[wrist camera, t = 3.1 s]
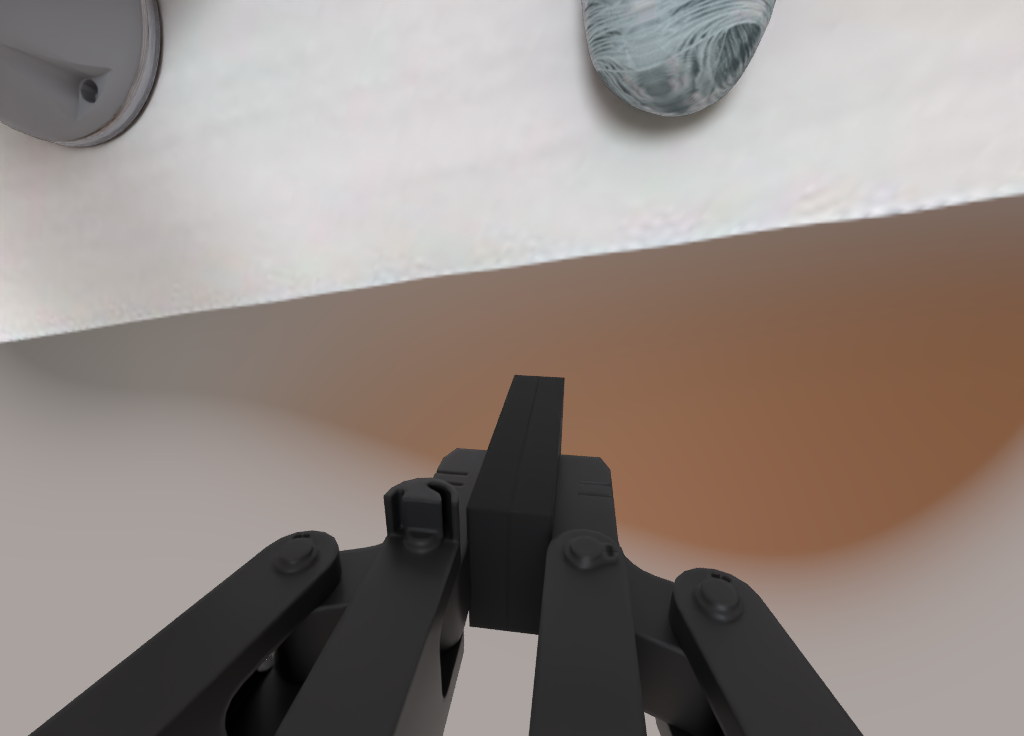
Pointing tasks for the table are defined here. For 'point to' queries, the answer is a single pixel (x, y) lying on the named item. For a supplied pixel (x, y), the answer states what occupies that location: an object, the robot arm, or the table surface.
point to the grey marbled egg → (673, 49)
